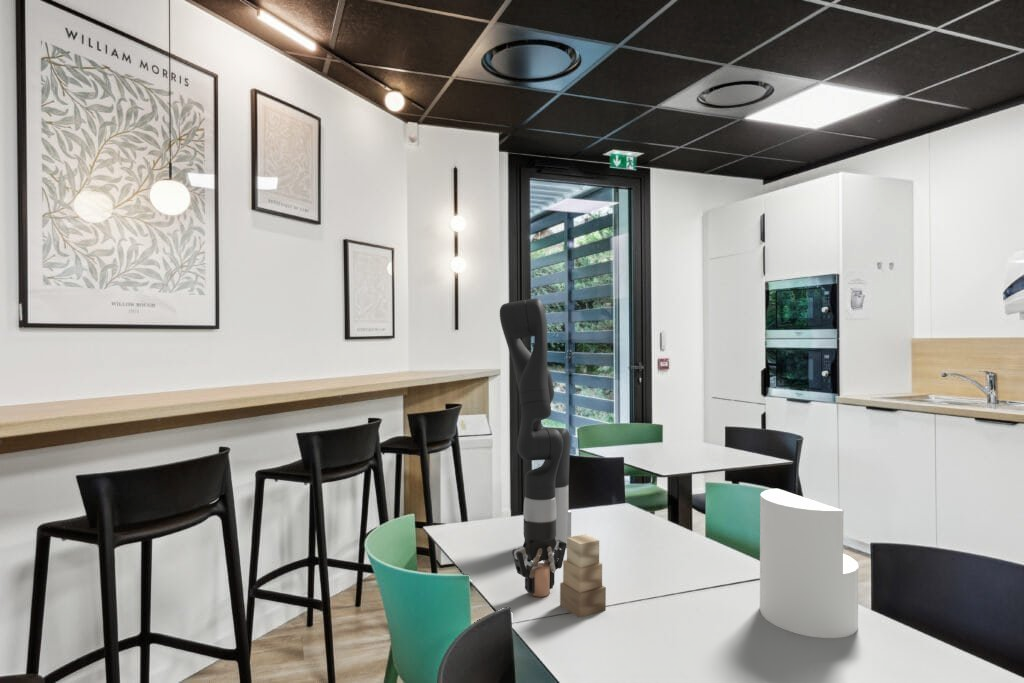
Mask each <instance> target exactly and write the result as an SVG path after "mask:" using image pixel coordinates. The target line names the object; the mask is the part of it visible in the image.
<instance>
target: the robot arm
mask: <svg viewBox="0 0 1024 683" xmlns="http://www.w3.org/2000/svg"><path fill="white" fill-rule="evenodd" d="M546 316H547V315H546V311H545V307H544V303H543V302H542V300H540V299H539V298H528V299H523V300H518V301H511V302H506V303H504V304H502V305H501V306H500V308H499V319H500V320H499V321H500V324H501V329H502V331H503V332H502V333H503V335H504V338H505V341H506V345H507V347H508V351H509V355H510V357H511V358H510V359H511V361H512V365H513V369H514V374H515V379H516V383H517V384H516V385H517V388H518V393H519V405H520V424H519V425H520V427H519V430H518V434H517V435H518V436H517V443H516V449H517V453H518V455H519V456H520V458H521V459H522V460H524V461H526V462H527V461H531V462H532V461H543V462H542V465H541V466H538V467H537V468H534V469H530V470H528V471H527V472H526V473H525V476H524V500H523V538H524V541H523V544H522V547H521V548H518V549H515V548H514V549H513V550H512V551H511V553H512V557H513V561H514V565H515V569H516V572H517V574H518V575H521V576H522V577H523V578H524V589H525V591H526V592H527V593H528V594H530V595H531V594H534V577H533V576H534V573H535V569H536V568H537V567H538V563H541V562H542V561H543V562H542V563H545V564H548V565H549V566H550V590H553V588H554V585H555V573H556V570H557V569H561V568H563V560H565V553H566V551H567V538H568V537H572V511H571V510H569V484H570V483H569V477H570V458H571V456H570V455H571V435H570V431H569V430H568V429H567V428H565V427H564V428H563V427H554V426H553V427H549V426H543V424H542V421H543V420H546V419H548V418H550V417H551V414H552V405H551V404H552V402H553V400H554V397H555V389H554V384H553V378H552V374H551V371H550V370H549V368H548V326H547V325H548V324H547V317H546ZM532 337H534V344H533V349H532V352H531V351H529V349H527V347H526V346H525V344H524V343H523V341H522V339H524V338H532ZM525 554H526V556H525Z"/></svg>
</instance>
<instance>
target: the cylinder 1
mask: <svg viewBox="0 0 1024 683" xmlns="http://www.w3.org/2000/svg"><path fill="white" fill-rule="evenodd" d="M533 577H534V594H530V595H531V596H534V597H539V598H540V597H547V596H548V595H550V594H551V589H550V566H549V565H548V564H545V563H544V562H539V563H538V567H537V568H536V569H535V573H534V576H533Z"/></svg>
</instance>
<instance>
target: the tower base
mask: <svg viewBox="0 0 1024 683" xmlns="http://www.w3.org/2000/svg"><path fill="white" fill-rule="evenodd" d="M559 584H560V585H559V586H560V587H559V589H560V590H559V599H560V600H559V603H560V604H559V605H560V606H561V607H562V608H563V609H565V610H567V611H568V612H570V613H571V614H573V615H575V616H577V618H583V617H587V616H591V615H594V614H598V613H601V612H604V611H606V609H607V606H606V604H607V603H606V602H607V600H606V598H607V597H606V595H607V593H606V592H607V591H606V590H607V588H606V587H605V586H604V585H602V587H600V588H596V589H592V590H588V591H584V592H581V593H579V592H578V591H576V590H574V589H573V588H571V587H569V586H567V585H566V584H564V583H563V581H562V582H560V583H559Z"/></svg>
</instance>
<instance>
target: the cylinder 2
mask: <svg viewBox="0 0 1024 683" xmlns="http://www.w3.org/2000/svg"><path fill="white" fill-rule="evenodd" d="M759 496H760V497H759V498H760V502H759V504H760V508H759V512H760V516H759V517H760V518H759V523H760V525H759V531H760V532H759V537H760V538H759V611H760V615H761V616H762V617H763V618H764V619H765V620H766V621H768V622H769V623H771V624H772V625H774V626H776V627H778V628H780V629H782V630H785V631H788V632H791V633H795V634H798V635H802V636H807V637H812V638H818V639H819V638H822V639H839V638H846V637H849V636H852V635H855V633H856V632H857V631H858V630H859V563H858V561H856V560H855V559H854V558H852V557H851V556H850V555H847V554H845V553H844V512H845V511H844V509H841V508H837V507H835V506H832V505H828V504H826V503H822V502H821V501H820V502H819V501H817V500H814V499H811V498H808V497H804V496H802V495H798V494H795V493H792V492H789V491H787V490H784V489H781V488H769V489H766V490H765V489H764V490H763V491H762V492H760V494H759Z"/></svg>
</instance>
